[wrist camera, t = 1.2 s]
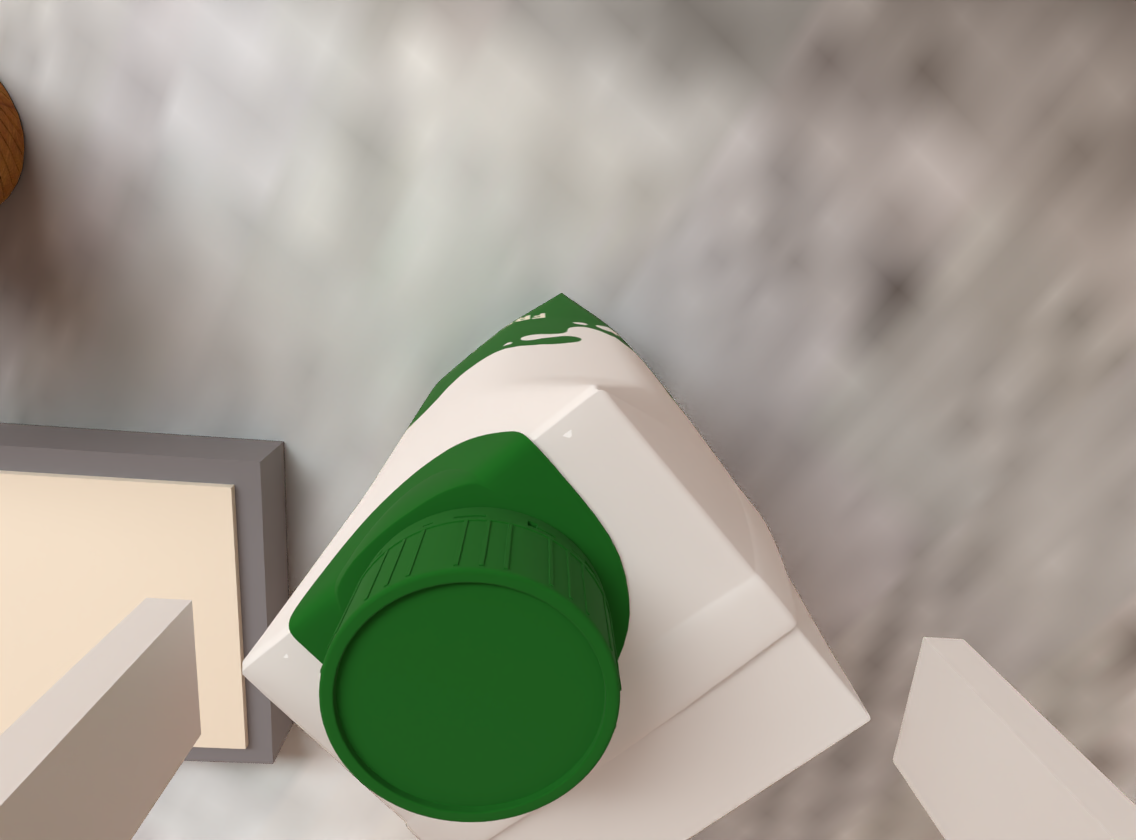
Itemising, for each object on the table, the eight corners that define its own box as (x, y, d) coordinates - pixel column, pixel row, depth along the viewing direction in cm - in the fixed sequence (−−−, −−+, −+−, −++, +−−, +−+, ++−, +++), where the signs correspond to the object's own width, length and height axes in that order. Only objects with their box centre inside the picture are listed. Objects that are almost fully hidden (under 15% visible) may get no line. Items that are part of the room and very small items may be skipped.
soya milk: (564, 259, 27) (626, 355, 8) (699, 429, 29) (1004, 832, 10) (398, 397, 28) (102, 771, 9) (539, 550, 30) (538, 1112, 11)
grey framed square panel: (-72, 418, 28) (-137, 439, 25) (283, 441, 29) (256, 464, 26) (-19, 711, 32) (-71, 756, 29) (292, 723, 32) (270, 768, 30)
